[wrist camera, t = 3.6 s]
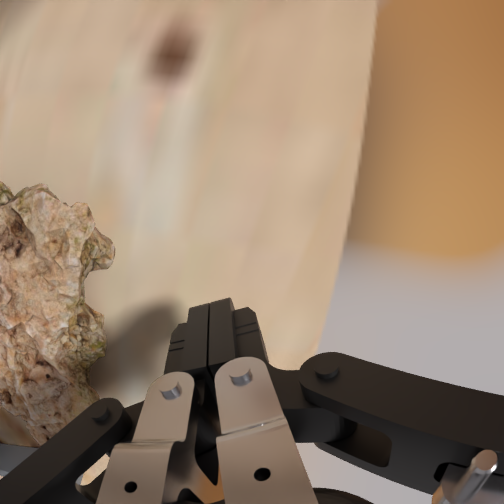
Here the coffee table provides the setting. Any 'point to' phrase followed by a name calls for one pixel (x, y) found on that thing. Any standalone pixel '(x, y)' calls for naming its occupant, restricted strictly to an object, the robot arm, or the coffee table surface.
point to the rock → (48, 308)
